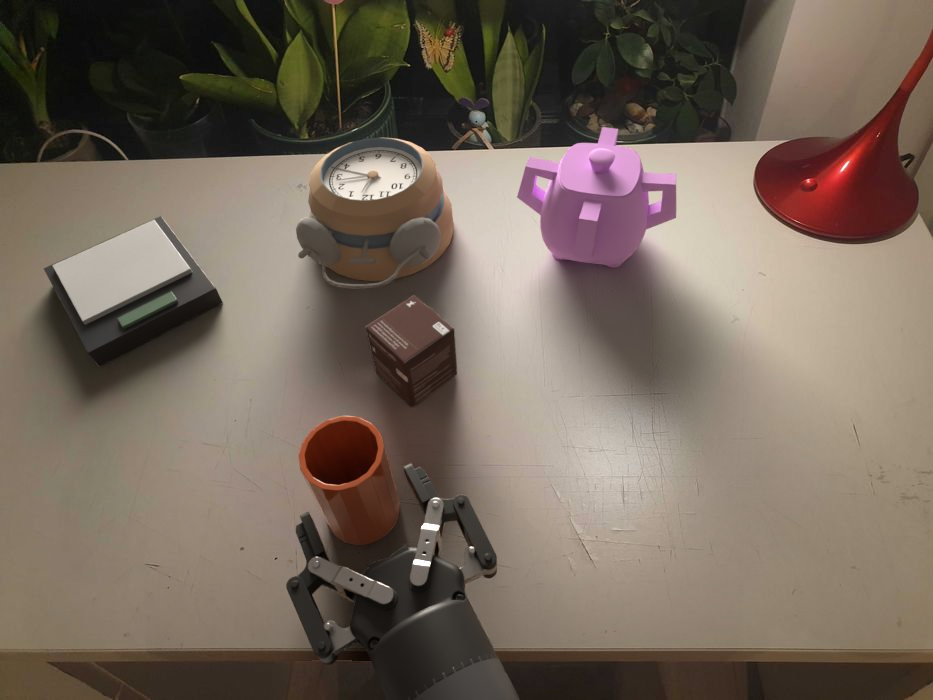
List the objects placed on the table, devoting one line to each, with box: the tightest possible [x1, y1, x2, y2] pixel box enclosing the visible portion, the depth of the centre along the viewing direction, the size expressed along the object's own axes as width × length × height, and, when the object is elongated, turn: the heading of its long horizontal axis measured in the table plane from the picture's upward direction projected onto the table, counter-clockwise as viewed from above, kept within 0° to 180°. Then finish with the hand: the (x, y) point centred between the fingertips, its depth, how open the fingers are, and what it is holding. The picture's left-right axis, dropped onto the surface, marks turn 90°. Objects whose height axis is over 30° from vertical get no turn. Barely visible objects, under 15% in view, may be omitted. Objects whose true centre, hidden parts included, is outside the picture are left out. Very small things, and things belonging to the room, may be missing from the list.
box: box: [364, 294, 458, 408], centre depth 63 cm, size 6×6×7 cm
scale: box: [43, 215, 224, 368], centre depth 74 cm, size 14×16×3 cm
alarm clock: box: [295, 137, 455, 290], centre depth 74 cm, size 17×9×23 cm
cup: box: [298, 415, 401, 546], centre depth 53 cm, size 6×6×10 cm
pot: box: [516, 126, 677, 268], centre depth 72 cm, size 18×17×12 cm
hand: (357, 493), depth 51 cm, fingers open, 8 cm apart
